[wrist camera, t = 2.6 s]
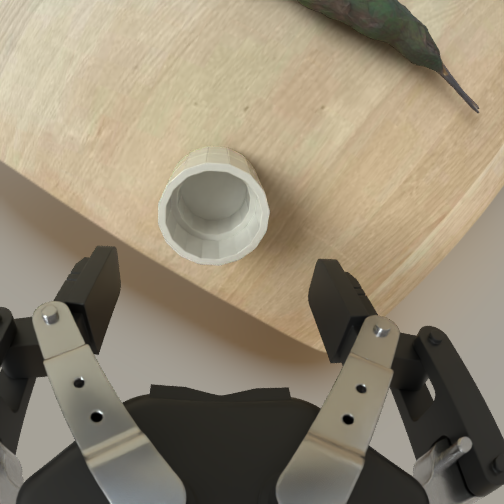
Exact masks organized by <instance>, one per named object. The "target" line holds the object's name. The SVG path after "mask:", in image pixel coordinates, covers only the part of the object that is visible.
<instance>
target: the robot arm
mask: <svg viewBox="0 0 504 504" xmlns="http://www.w3.org/2000/svg"><path fill="white" fill-rule="evenodd" d="M120 287H121V281H120V272H119V264H118V255H117V249H116V248H115V247H112V246H111V247H110V246H97V247H96V248H95V250H94V252H93V253H92V255H91V256H90V258H87V257H85V258H83V259H82V260H81V261H79V262H78V263H76V265H75V266H74V268H73V269H72V271H71V274H69V276H68V277H67V280H66V281H65V282H64V284H63V286H62V287H61V289H60V291H59V292H58V294H57V296H56V297H55V299H54V301H51V302H47V303H44V304H42V305H40V306H39V307H38V308H37V309H36V310H35V311H34V313H33V315H32V317H27V318H19V319H14V318H13V316H12V314H11V311H10V310H9V309H7V308H4V307H0V367H2V369H1V372H0V504H472V503H474V502H476V501H478V500H480V499H481V498H483V497H485V496H486V495H488V494H490V493H491V492H493V491H494V490H496V489H497V488H499V487H500V486H502V485H504V439H503V437H502V435H501V433H500V430H499V428H498V426H497V424H496V422H495V420H494V418H493V416H492V414H491V412H490V410H489V408H488V406H487V404H486V402H485V400H484V398H483V397H482V395H481V393H480V391H479V389H478V387H477V386H476V384H475V382H474V380H473V378H472V377H471V375H470V373H469V371H468V370H467V368H466V366H465V365H464V363H463V361H462V359H461V358H460V356H459V354H458V353H457V351H456V349H455V348H454V346H453V345H452V343H451V341H450V340H449V338H448V337H447V335H446V334H445V333H444V332H443V331H441V330H440V329H438V328H436V327H432V326H424V327H422V328H421V329H420V331H419V333H418V334H417V336H415V335H410V334H404V333H400V331H399V328H398V327H397V325H396V324H395V323H394V322H393V321H391V320H390V319H388V318H386V317H383V316H378V314H377V312H376V311H375V309H374V307H373V306H372V304H371V302H370V301H369V299H368V297H367V296H365V292H364V291H363V289H361V286H360V284H359V282H358V281H357V279H356V278H354V277H353V276H352V275H351V274H350V273H348V272H344V270H343V269H342V267H341V265H340V264H339V262H338V261H337V260H334V259H318V261H317V263H316V266H315V270H314V273H313V277H312V281H311V284H310V288H309V294H308V301H309V305H310V308H311V311H312V313H313V316H314V319H315V321H316V324H317V327H318V330H319V332H320V335H321V338H322V340H323V343H324V346H325V349H326V351H327V354H328V357H329V360H330V362H331V363H342V365H343V367H342V369H341V372H340V374H339V376H338V378H337V379H336V381H335V384H334V385H333V387H332V389H331V391H330V393H329V395H328V397H327V398H326V400H325V402H324V404H323V406H322V408H319V407H317V406H316V405H313V404H311V403H309V402H307V401H304V400H301V399H297V398H292V397H291V396H290V392H289V388H256V389H251V390H247V391H242V392H238V393H233V394H228V395H222V396H221V395H215V394H210V393H206V392H202V391H198V390H194V389H191V388H187V387H177V386H164V385H152V384H151V388H150V394H147V395H142V396H138V397H135V398H132V399H129V400H127V401H125V402H123V403H122V402H121V400H120V399H119V397H118V396H117V394H116V392H115V391H114V389H113V387H112V386H111V384H110V383H109V381H108V379H107V377H106V375H105V374H104V372H103V370H102V369H101V367H100V365H99V363H98V361H97V359H96V358H95V356H94V354H97V355H99V352H100V349H101V345H102V342H103V339H104V336H105V333H106V330H107V328H108V325H109V322H110V319H111V316H112V313H113V311H114V308H115V305H116V302H117V300H118V297H119V294H120ZM45 376H48V378H49V381H50V384H51V386H52V389H53V391H54V394H55V396H56V399H57V401H58V404H59V406H60V408H61V411H62V413H63V415H64V418H65V420H66V422H67V424H68V426H69V428H70V430H71V432H72V435H73V437H74V439H75V441H74V442H73V443H72V444H71V445H69V446H68V447H67V448H66V449H64V450H63V451H62V452H61V453H59V454H58V455H57V456H56V457H54V458H53V459H52V460H51V461H49V462H48V463H47V464H46V465H44V466H43V467H42V468H41V469H39V470H38V471H37V472H36V473H34V474H33V475H32V476H31V477H29V478H28V479H27V480H26V481H25V482H24V483H23V477H22V467H21V464H20V461H19V460H18V458H17V457H16V456H15V455H16V450H17V445H18V441H19V437H20V432H21V429H22V425H23V421H24V417H25V414H26V410H27V406H28V403H29V400H30V396H31V393H32V390H33V387H34V384H35V381H36V377H45ZM428 378H429V379H430V381H431V383H432V385H433V387H434V390H435V400H434V401H433V399H432V397H431V395H430V392H429V390H428V388H427V386H426V384H425V382H426V381H427V379H428ZM389 387H390V389H391V391H392V394H393V396H394V399H395V402H396V404H397V407H398V410H399V412H400V415H401V418H402V420H403V423H404V426H405V429H406V432H407V434H408V437H409V440H410V443H411V446H412V449H413V452H414V455H415V458H416V463H415V465H414V469H413V473H414V475H413V476H411V475H409V474H408V473H407V472H405V471H404V470H402V469H401V468H399V467H398V466H397V465H395V464H394V463H392V462H391V461H389V460H388V459H387V458H385V457H384V456H383V455H381V454H380V453H378V452H377V451H376V450H374V449H373V448H372V447H370V446H369V443H370V441H371V438H372V436H373V433H374V430H375V428H376V425H377V422H378V420H379V417H380V414H381V411H382V408H383V405H384V402H385V399H386V396H387V393H388V390H389Z"/></svg>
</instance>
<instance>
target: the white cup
mask: <svg viewBox="0 0 504 504" xmlns="http://www.w3.org/2000/svg"><path fill="white" fill-rule="evenodd" d="M269 215H270V209H269V205H268V202H267V198H266V195H265V191H264V189H263V187H262V184H261V182H260V180H259V178H258V175H257V173H256V171H255V169H254V167H253V166H252V165H251V164H250V163H249V161H248V160H247V159H246V158H245V157H244V156H243V155H242V154H240V153H238V152H236V151H234V150H232V149H230V148H227V147H218V146H206V147H203V148H200V149H197V150H194V151H192V152H190V153H189V154H188V155H186V156H185V157H184V158H183V159H182V160H181V161H179V162H178V164H177V165H176V167H175V169H174V171H173V173H172V175H171V177H170V179H169V181H168V184H167V186H166V188H165V190H164V192H163V194H162V197H161V199H160V201H159V204H158V224H159V227H160V230H161V232H162V234H163V236H164V239H165V241H166V242H167V244H168V245H169V246H170V247H171V248H172V249H174V250H175V251H176V252H177V253H178V254H179V255H180V256H181V257H183V258H186V259H188V260H190V261H193V262H195V263H198V264H202V265H224V264H227V263H231V262H234V261H237V260H240V259H242V258H243V257H244V256H246V255H247V254H248V253H250V252H251V251H253V250H254V249H255V248H256V247H257V246H258V244H259V243H260V241H261V239H262V238H263V236H264V235H265V233H266V231H267V227H268V221H269Z"/></svg>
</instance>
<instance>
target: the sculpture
mask: <svg viewBox="0 0 504 504" xmlns="http://www.w3.org/2000/svg"><path fill="white" fill-rule="evenodd" d="M298 2H299V3H301V4H302V5H304V6H306V7H307V8H309V9H312V10H315V11H320V12H321V13H322V14H325V16H327V17H329V18H331V19H335V20H339V21H341V22H343V23H345V24H347V25H349V26H351V27H352V28H353V29H355V30H356V31H358V32H359V33H361V34H363V35H365V36H367V37H369V38H371V39H376V40H380V41H384V42H387V43H389V44H390V45H391V46H392V47H394V48H395V49H396V50H397V51H399V52H400V53H401V54H402V55H403V56H404V57H406V58H407V59H408V60H409V61H410V62H411V63H413V64H415V65H419V66H424V67H427V68H429V69H432V70H434V71H436V72H437V73H439V74H440V75H441V76H442V77H443V78H444V79H445V80H446V81H447V82H448V83H449V84H450V85H451V86H452V87H453V88H454V89H455V90H456V91H457V93H458V94H459V95H460V96H461V97H462V98H463V99H464V100H465V102H466V103H467V104H468V105H469V106H470V107H471V108H472V109H473V110H475V111H476V112H477V113H479V111H478V109H479V107H478V106H477V104H476V103H475V102H474V101H473V100H472V99H471V98H470V97H469V96H468V95H467V94H466V93H465V92H464V91H463V90H462V88H461V87H460V86H459V84H458V83H457V82H456V80H455V79H454V78H453V76H452V75H451V74H450V72H449V71H448V69H447V68H446V67H445V65H444V64H443V62H442V61H441V58H440V52H439V49H438V48H437V46H436V44H435V42H434V41H433V39H432V37H431V35H430V34H429V32H428V29H427V28H426V26H425V25H423V24H422V23H421V22H420V21H419V20H418V19H417V18H416V17H414V16H413V15H412V14H411V12H410V11H409V10H408V9H407V8H406V7H405V6H404V5H402V4H400V3H399V2H398V1H397V0H298Z"/></svg>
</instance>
